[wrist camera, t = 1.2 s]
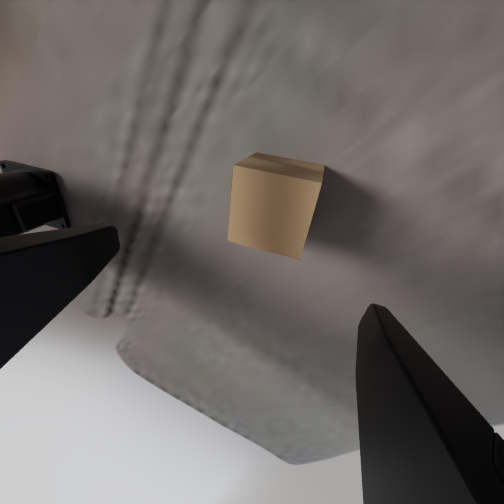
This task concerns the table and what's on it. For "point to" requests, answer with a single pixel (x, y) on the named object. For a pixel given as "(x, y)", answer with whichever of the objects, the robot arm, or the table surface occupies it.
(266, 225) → the tan wooden cube
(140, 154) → the table surface
